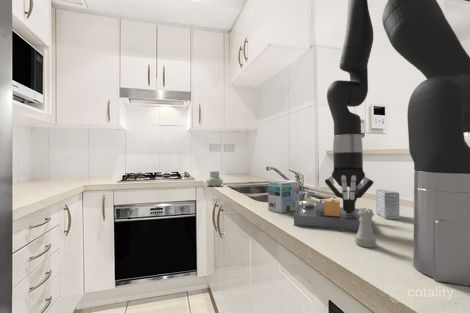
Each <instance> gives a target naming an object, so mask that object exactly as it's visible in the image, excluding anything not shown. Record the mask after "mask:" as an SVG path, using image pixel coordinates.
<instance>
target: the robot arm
mask: <svg viewBox="0 0 470 313" xmlns="http://www.w3.org/2000/svg"><path fill="white" fill-rule="evenodd" d="M347 1H348V2H347V14H346V16H347V17H346V30H345V35H344V40H343V46H342V50H341V55H340V60H339V69H340V70H341V71H343V72H346V73H347V74H348V75H349V79H350V80H342V79H341V80H340V79H339V80H335V81H332V83H331V84H329V86H328V88H327V90H326V91H327V92H326V100H327V104H328V107H329V111H330V114H331V117H332V121H333V142H332V143H333V144H332V147H333V148H332V152H333V153H332V154H333V160H332V161H333V171H332V173H331V176H329V177H328V178H326V179H325V180H324V183H325V185H326V186H328V188H329V190H331V191H332V193H334V194H333V195H335V196H336V197H338V198H340V199H341V200H342V208H343V210H344V211H346V213H352V211H354V200H355V199H356V198H357V199H360V198H362V197H363V196H364V195H365V194H366V193H367V191H368V190H369V189H370V188H371V187H372V185H373V184H374V180H371V179H370V178H368V177H367V176H366V173H365V172H364V164H363V160H364V159H363V139H362V122H361V116H360V115H359V114H357V113H354V112H351V111H350V110H349V108H348V107H350V108H352V107H353V108H354V107H359V106H361V105H362V104H363V103H364V101H366V98H367V96H368V92H369V78H368V76H369V75H368V74H369V72H368V65H369V61H370V57H371V56H370V55H371V52H372V48H373V44H374V27H373V23H372V19H371V14H370V10H369V4H368V0H347ZM381 19H382V26H383V29H384V31H385V34H386V36H387V38H388V41H389V42H390V45H391V46H392V48H393V50H395V51H396V52H397V53H398V54H399V56H401V57H402V58H404V59H405V60H406V61H407V62H408V63H409V64H411V65H412V66H413V67H414V68H416V69H417V70H418V71H419V72H420V73H421V74H422V75H423V76H424V77H425V78H426V79H425V80H423V81H422V82H420V83H419V84H418V85H417V86H416V87H415V88H414V89H413V92H412V93H411V95H410V98H409V100H408V105H407V130H408V131H407V133H408V134H407V135H408V150H409V151H408V152H409V154H410V157H411V158H412V161H413V162H412V163H413V167H414V168H413V169H414V170H413V241H412V242H413V252H412V254H413V259H412V260H413V261H412V262H413V267H415V269H416V270H417V271H419V272H420V273H423V274H424V275H427V276H428V277H431V278H433V279H434V280H435V281H437V282H444V283H449V284H456V285H462V284H463V286H469V285H470V146H469V145H468V143H467V141H466V140H465V133H470V55H469V54H468V52H467V51H466V50H465V49H464V46H463V45H462V43H461V42H460V40H459V38H458V36H457V35H456V33H455V31H454V29H453V28H452V26H451V24H450V23H449V21H448V20H447V17H446V16H445V14H444V11H443V10H442V8H441V6H440V4H439V3H438V1H437V0H388V1H387V3H386V5H385V7H384V10H383V13H382V18H381ZM334 180H335V181H334ZM335 182H336V183H337V184H338V185H339V187H341V192H340V191H339V190H338V189H337V187H336V186H335V185H334V184H335ZM360 182H361V183H362V184H363V186H362V187H361V188H360V190H359V191H358V192H357V193H355V187H357V186H358V185H359V183H360ZM348 188H349V190H348Z"/></svg>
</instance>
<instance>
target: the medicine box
mask: <svg viewBox="0 0 470 313" xmlns="http://www.w3.org/2000/svg"><path fill="white" fill-rule="evenodd" d="M375 197H376V198H375V203H376V204H375V213H376V214H377V215H378V214H379V215H378V216H380V217H382V218H383V219H386V220H397V219H398V220H400V215H401V214H400V192H397V191H394V190H390V189H376V190H375Z"/></svg>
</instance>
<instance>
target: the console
mask: <svg viewBox="0 0 470 313" xmlns="http://www.w3.org/2000/svg"><path fill="white" fill-rule="evenodd" d="M318 199H319V198H318ZM319 200H322V201H324V199H322V198H321V199H319ZM363 210H364V208H363ZM359 211H360V208H356V203H355V204H354V211H352V213H346V211H344V210H343V206H340V217H339V216H327V215H324V202H316V204H315V203H313V202H310V201H307V200H301V203H299V207H298V208H297V210H295V212H294V214H293V226H295V227H296V226H298V227H299V226H300V227H306V228H307V227H308V228H318V229H327V230H336V231H344V232H345V231H346V232H353V233H356V232H358V231H359V226H360V220H359V219H360V215H359V214H358V212H359ZM373 225H374V224H373V222H372V230H373V227H374V226H373Z"/></svg>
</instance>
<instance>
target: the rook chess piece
mask: <svg viewBox="0 0 470 313" xmlns="http://www.w3.org/2000/svg"><path fill="white" fill-rule="evenodd" d="M359 209H360V211H359V212H358V214H359V215H360V219H359V220H360V226H359V231H358V232H357V233H356V234H355V236H354V238H355V240H354V242H355V244H356V245H357V246H358V247H363V248H366V249H373V248H376V246H377V245H378V244H377V240H378V239H377V238H376V236H375V234H374V231H373V230H372V222H373V217H374V216H375V214H374V212H373V209H371V208H366V207H365V208H363V207H361V208H359ZM363 209H364V210H363Z"/></svg>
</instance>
